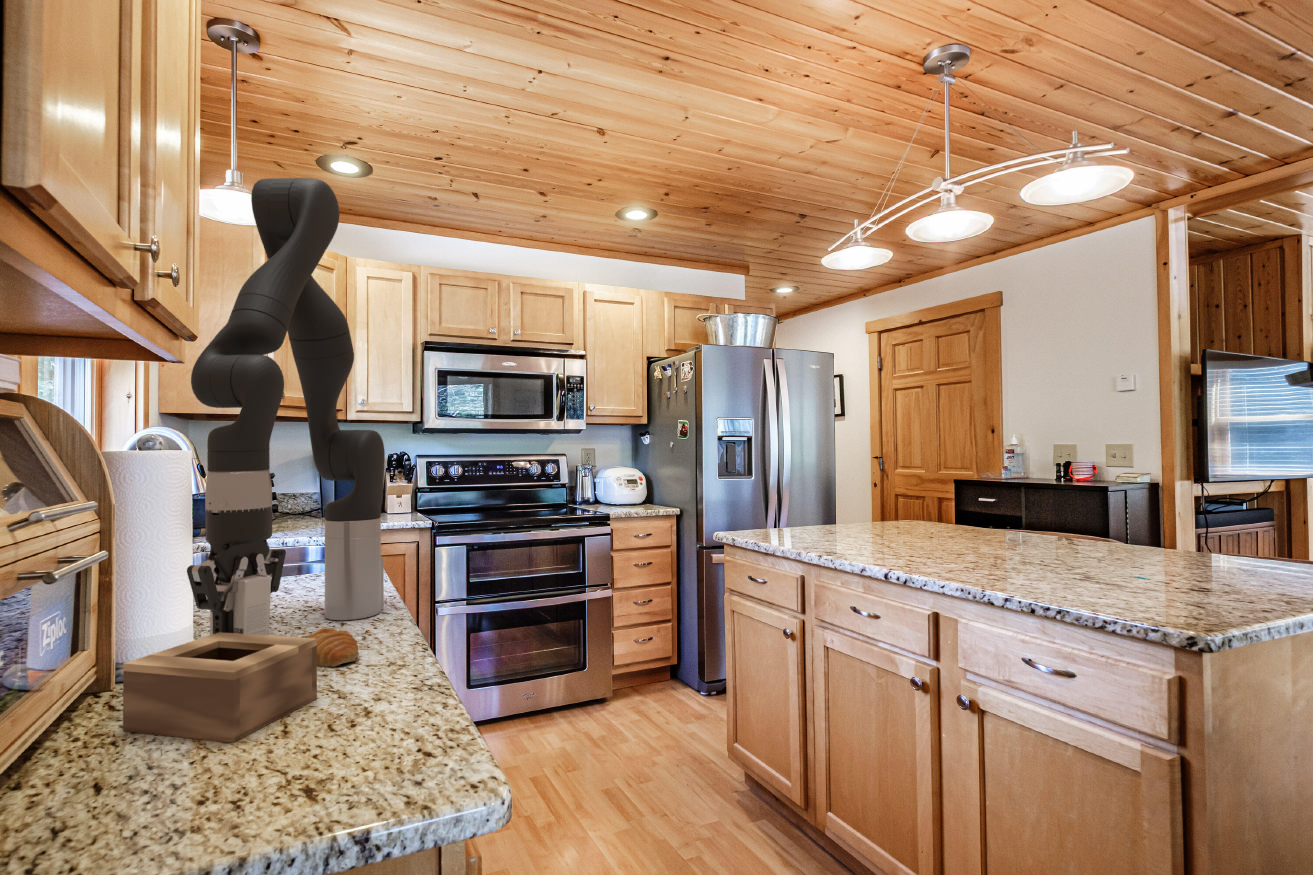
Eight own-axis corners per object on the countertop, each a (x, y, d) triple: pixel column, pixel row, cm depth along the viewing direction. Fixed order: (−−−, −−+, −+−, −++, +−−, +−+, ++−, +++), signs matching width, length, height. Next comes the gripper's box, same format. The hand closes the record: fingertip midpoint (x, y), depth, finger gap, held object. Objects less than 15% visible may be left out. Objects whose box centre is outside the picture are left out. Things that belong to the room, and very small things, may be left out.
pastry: (371, 661, 94) (371, 634, 94) (321, 674, 89) (321, 645, 89) (343, 648, 100) (342, 622, 100) (295, 659, 95) (294, 632, 95)
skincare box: (207, 670, 87) (206, 578, 87) (237, 659, 91) (237, 571, 91) (243, 675, 85) (242, 580, 85) (272, 663, 89) (272, 573, 89)
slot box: (219, 690, 83) (219, 632, 83) (316, 698, 80) (316, 638, 80) (123, 730, 71) (123, 663, 71) (233, 742, 68) (233, 672, 68)
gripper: (258, 499, 96) (259, 617, 96) (166, 510, 82) (167, 648, 82) (303, 500, 94) (304, 620, 94) (216, 511, 80) (217, 652, 80)
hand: (240, 632), depth 88 cm, fingers closed on skincare box, 4 cm apart
